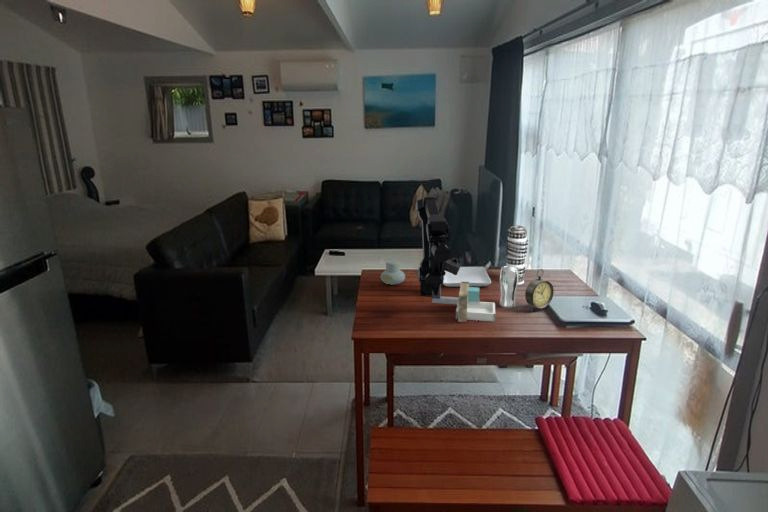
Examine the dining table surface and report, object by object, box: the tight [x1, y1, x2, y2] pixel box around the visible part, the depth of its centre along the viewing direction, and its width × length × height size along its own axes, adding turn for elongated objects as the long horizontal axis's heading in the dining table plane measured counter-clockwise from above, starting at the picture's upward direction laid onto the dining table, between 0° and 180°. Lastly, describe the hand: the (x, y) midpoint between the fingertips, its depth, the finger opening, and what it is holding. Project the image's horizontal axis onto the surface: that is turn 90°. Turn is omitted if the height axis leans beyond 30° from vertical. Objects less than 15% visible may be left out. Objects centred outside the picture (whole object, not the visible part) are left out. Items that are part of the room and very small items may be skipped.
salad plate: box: [442, 266, 492, 288], centre depth 209 cm, size 21×21×3 cm
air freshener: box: [380, 259, 406, 286], centre depth 206 cm, size 11×8×10 cm
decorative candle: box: [505, 224, 529, 286], centre depth 203 cm, size 9×9×25 cm
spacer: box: [468, 287, 480, 302], centre depth 172 cm, size 4×4×4 cm
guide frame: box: [457, 282, 469, 323], centre depth 174 cm, size 3×15×10 cm, turn 168°
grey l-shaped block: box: [431, 284, 481, 306], centre depth 173 cm, size 18×3×8 cm, turn 78°
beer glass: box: [499, 265, 519, 309], centre depth 180 cm, size 7×7×15 cm
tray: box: [455, 301, 496, 323], centre depth 174 cm, size 14×11×3 cm
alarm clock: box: [524, 268, 555, 313], centre depth 175 cm, size 11×5×16 cm, turn 118°
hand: (436, 293), depth 175 cm, fingers closed on grey l-shaped block, 3 cm apart
